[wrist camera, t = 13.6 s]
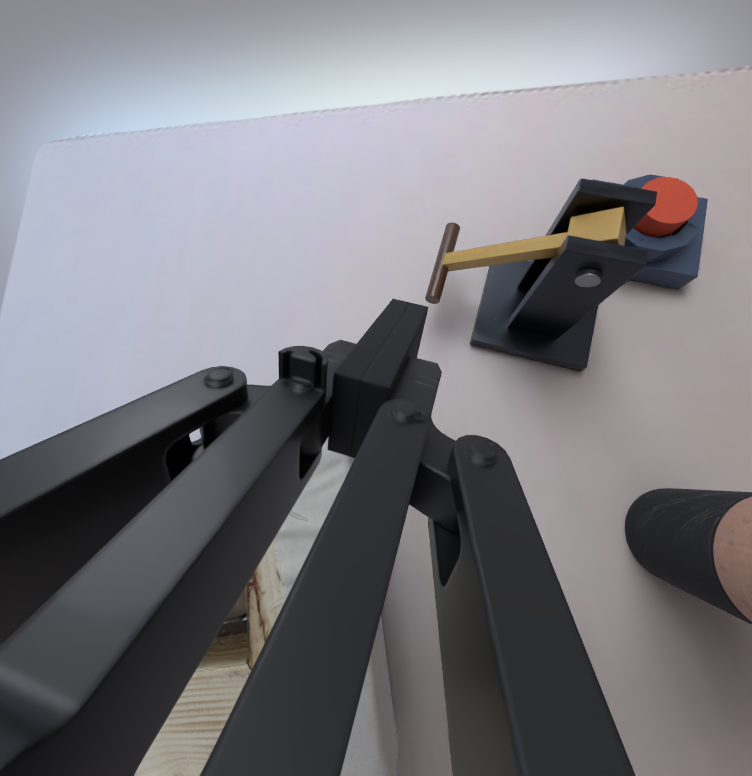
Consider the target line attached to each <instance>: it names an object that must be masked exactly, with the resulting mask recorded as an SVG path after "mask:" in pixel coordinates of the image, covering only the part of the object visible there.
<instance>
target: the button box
mask: <svg viewBox="0 0 752 776" xmlns="http://www.w3.org/2000/svg"><path fill="white" fill-rule="evenodd" d="M661 177H662V176H656V175H647V176H643V177H639V178H635V179H632V180H628V181H627V182H626V183H625V184H624V185H623V186H629V187H635V188H641V189H642V188H643V187H644V185H645V184H647V183H648V182H649V181H651V180H653V179H656V178H661ZM593 181H598V180H593ZM599 182H604V181H599ZM605 183H610V182H605ZM611 184H616V183H611ZM617 185H622V184H617ZM697 199H698V206H697V209H696V211H695V213H694V214H693V216H692V217H690V218H689V219H688V220H687V221H686V222H685V223H684V224H682V225H681V226H680V227H679V228H678V229H677V230H675V231H674V232H673V233H671V234H669V235H667V236H663V237H651V236H646V235H643V234H641V233H640V232H639V231H637V230H636V229H634V228H633V229H632V230H631V231H630V232H629V233H628V234H627V235H626V238H625V244H624V246H628V247H633V248H638V249H644V250H648V256H647V262H646V266H645V267H644V268H642V269H641V270H640V271H639V272H638V273H636V274H635V275H634V276H633V277H631V278H630V280H635V281H640V282H645V283H650V284H655V285H660V286H665V287H669V288H674V289H680V288H681V287H683V286H684V285H686V284H687V283H689V282H690V281H692V280H694V279H695V278H697V277H698V270H699V262H700V254H701V247H702V239H703V231H704V224H705V216H706V209H707V201H708V199H705V198H699V197H697Z"/></svg>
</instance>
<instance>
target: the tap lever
mask: <svg viewBox="0 0 752 776" xmlns="http://www.w3.org/2000/svg"><path fill="white" fill-rule="evenodd" d="M459 230H460V227H459V225H458V224H456V223H448V224H447V225H446V228H445V232H444V235H443V239H442V242H441V245H440V249H439V252H438V256H437V259H436V263H435V266H434V270H433V273H432V276H431V280H430V283H429V287H428V290H427V294H426V297H425V299H426V301H427V302H429V303H433V304H437V303H439V302H440V298H441V294H442V291H443V287H444V284H445V280H446V277H447V273H448V271H454V270H461V269H469V268H476V267H484V266H491V265H499V264H506V263H513V262H521V261H528V260H536V259H543V258H551V257H553V256H554V255H555V253H556V252H557V250H558V249H559V248H560V246H561V245H562V243H563V242H564V240H565V239H566V238H567V236H568V235H571V236H576V237H581V238H586V239H592V240H597V241H602V242H607V243H612V244H618V245H623V246H624V244H625V238H626V224H625V213H624V207H619V208H614V209H609V210H604V211H599V212H594V213H589V214H584V215H579V216H574V217H571V219H570V224H569V228H568V232H565V233H560V234H554V235H548V236H542V237H537V238H531V239H525V240H519V241H514V242H508V243H502V244H496V245H491V246H485V247H479V248H473V249H468V250H462V251H456V252H454V248H455V245H456V241H457V237H458V234H459Z"/></svg>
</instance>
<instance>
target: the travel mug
mask: <svg viewBox="0 0 752 776" xmlns="http://www.w3.org/2000/svg"><path fill="white" fill-rule="evenodd" d="M625 531H626V537H627V541H628V544H629V547H630V549H631V551H632V553H633V554H634V556H635V557H636V559H637V560H638V561H639V562H640V563H641V564H642V565H643V566H644V567H645V568H646V569H647V570H648V571H649V572H651V573H652V574H654V575H655V576H657V577H658V578H660V579H662V580H664V581H666V582H668V583H670V584H672V585H674V586H676V587H678V588H680V589H682V590H684V591H686V592H688V593H690V594H692V595H694V596H696V597H698V598H700V599H702V600H704V601H706V602H708V603H710V604H712V605H714V606H716V607H718V608H720V609H722V610H724V611H726V612H728V613H730V614H732V615H734V616H736V617H738V618H740V619H742V620H744V621H746V622H748V623H750V624H752V492H732V491H712V490H692V489H657V490H652V491H649V492H647V493H645V494H643V495H641V496H640V497H639V498H638V499H637V500H636V501H635V502H634V503H633V504H632V505H631V507H630V509H629V511H628V514H627V517H626V523H625Z"/></svg>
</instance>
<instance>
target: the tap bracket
mask: <svg viewBox="0 0 752 776" xmlns="http://www.w3.org/2000/svg"><path fill="white" fill-rule="evenodd" d="M657 193H658V192H657V191H653V190H647V189H641V188H635V187H629V186H623V185H617V184H611V183H605V182H599V181H593V180H587V179H580V180H579V182H578V183H577V185H576V187H575V188H574V190H573V191H572V193H571V195H570V196H569V198H568V200H567V201H566V203H565V205H564V206H563V208H562V210H561V211H560V213H559V214H558V216H557V218H556V219H555V221H554V223H553V224H552V226H551V228H550V229H549V231H548V233H547V234H546V236H548V235H554V234H560V233H565V232H568V228H569V224H570V219H571V217H574V216H579V215H584V214H589V213H594V212H599V211H604V210H609V209H614V208H619V207H624V213H625V224H626V235H627V234H628V233H629V232H630V231H631V230H632V229H633V228H634V227H635V226H636V225H637V224H638V223H639V222H640V221H641V220H642V218H643V217H644V216H645V215H646V214H647V213H648V212H649V211H650V210H651V209H652V208H653V207H654V206H655V204H656V199H657ZM647 256H648V250H644V249H638V248H633V247H628V246H623V245H618V244H612V243H607V242H602V241H597V240H592V239H586V238H581V237H576V236H571V235H568V236H567V238H566V239H565V240H564V242H563V243H562V245H561V246H560V248H559V249H558V250H557V252H556V253H555V255H554V256H553V257H551V258H543V259H536V260H530V261H521V262H513V263H506V264H499V265H491V266H489V270H488V274H487V278H486V282H485V286H484V290H483V294H482V298H481V302H480V305H479V309H478V313H477V317H476V321H475V325H474V329H473V333H472V337H471V340H470V344H472V345H476V346H480V347H484V348H488V349H492V350H496V351H500V352H504V353H508V354H512V355H516V356H521V357H525V358H529V359H533V360H537V361H541V362H545V363H549V364H553V365H557V366H561V367H565V368H569V369H574V370H578V371H581V370H583V369H585V368H586V367H587V362H588V357H589V351H590V346H591V341H592V335H593V330H594V325H595V319H596V314H597V309H598V305H599V304H600V303H601V302H603V301H604V300H605V299H606V298H607V297H609V296H610V295H611V294H612V293H613V292H615V291H616V290H617V289H618V288H619V287H621V286H622V285H623V284H624V283H625V282H627V281H628V280H629V279H630V278H631V277H633V276H634V275H635V274H636V273H638V272H639V271H640V270H641V269H642V268H644V267H645V266H646V262H647Z"/></svg>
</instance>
